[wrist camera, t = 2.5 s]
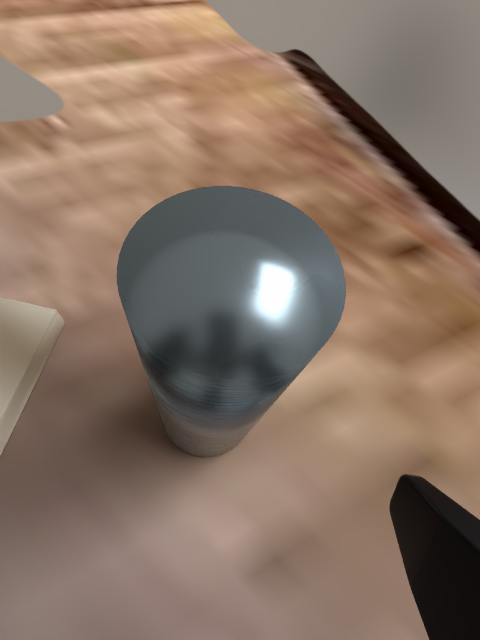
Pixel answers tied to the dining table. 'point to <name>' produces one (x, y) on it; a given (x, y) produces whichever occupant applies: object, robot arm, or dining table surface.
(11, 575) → the dining table surface
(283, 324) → the shiny steel cylinder
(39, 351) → the collar base
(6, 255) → the dining table surface
